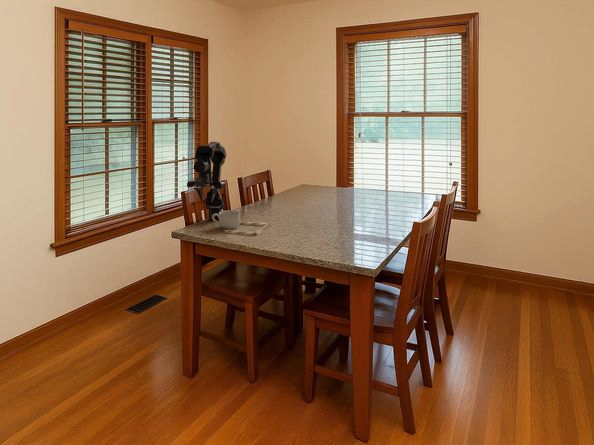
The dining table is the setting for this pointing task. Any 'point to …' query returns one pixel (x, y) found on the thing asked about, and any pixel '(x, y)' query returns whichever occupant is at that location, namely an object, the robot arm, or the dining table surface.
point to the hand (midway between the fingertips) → (206, 201)
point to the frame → (265, 225)
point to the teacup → (228, 219)
